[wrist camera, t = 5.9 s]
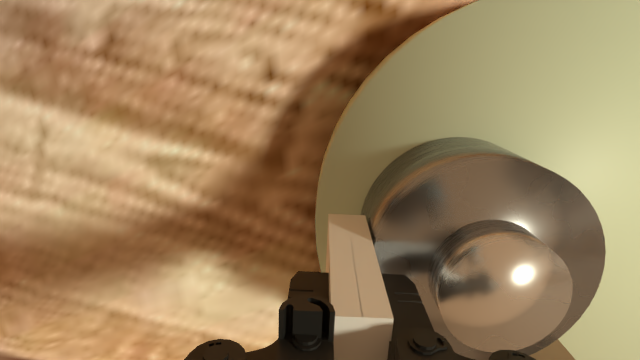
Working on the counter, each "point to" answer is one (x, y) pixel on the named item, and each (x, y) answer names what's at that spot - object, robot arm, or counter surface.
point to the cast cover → (487, 244)
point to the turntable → (516, 128)
